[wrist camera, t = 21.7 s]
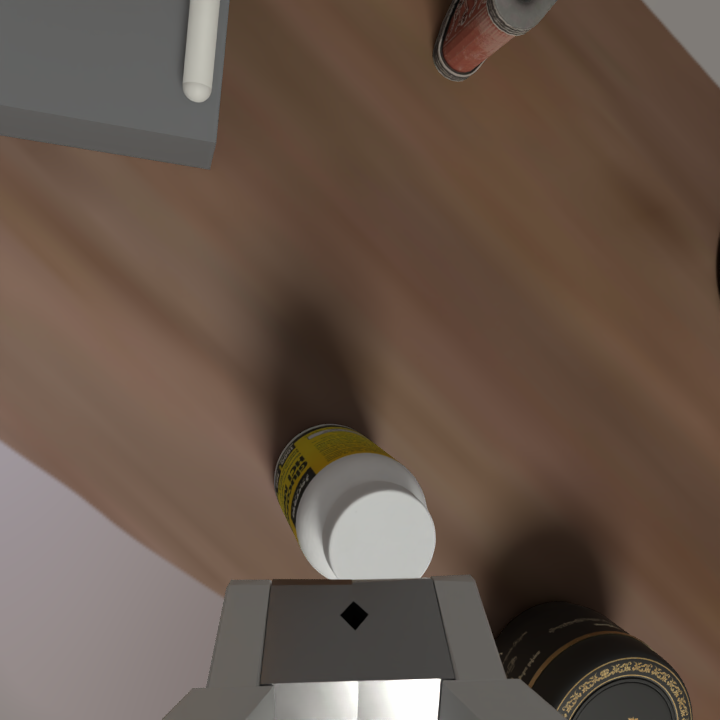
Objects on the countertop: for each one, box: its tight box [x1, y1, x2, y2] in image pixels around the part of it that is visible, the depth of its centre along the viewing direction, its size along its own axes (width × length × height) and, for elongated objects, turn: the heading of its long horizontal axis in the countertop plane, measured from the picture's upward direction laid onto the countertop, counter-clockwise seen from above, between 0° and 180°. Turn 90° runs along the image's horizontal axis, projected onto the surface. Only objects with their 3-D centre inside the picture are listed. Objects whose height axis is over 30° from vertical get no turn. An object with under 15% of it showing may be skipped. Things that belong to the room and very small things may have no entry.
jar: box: [495, 602, 693, 720], centre depth 39 cm, size 10×10×8 cm
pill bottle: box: [274, 424, 436, 580], centre depth 32 cm, size 6×6×11 cm
